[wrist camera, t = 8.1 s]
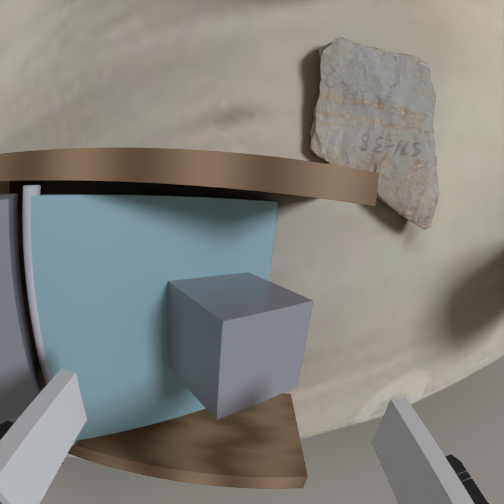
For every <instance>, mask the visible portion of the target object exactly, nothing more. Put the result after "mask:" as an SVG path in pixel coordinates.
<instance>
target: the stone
mask: <svg viewBox="0 0 504 504" xmlns="http://www.w3.org/2000/svg"><path fill="white" fill-rule="evenodd" d="M318 51H319V55H320V60H321V63H320V70H321V71H320V92H319V98H318V100H317V102H316V105H315V107H314V113H313V116H314V121H313V123H312V126H311V129H310V137H311V142H310V145H309V148H310V150H311V151H312V152H314V153H315V154H316V155H317V156H319V157H321V158H322V159H324V160H326V161H327V162H326V164H330V165H337V166H343V167H349V168H354V169H360V170H366V171H371V172H376V173H379V179H378V188H377V198H378V199H380V200H381V201H383V202H384V203H386V204H387V205H389V206H390V207H391V208H392V209H393V210H395V211H396V212H397V213H398V214H400V215H401V216H403V217H405V218H406V219H408V220H410V221H411V222H413V223H414V224H416V225H418V226H419V227H421V228H422V229H425V230H426V229H428V228H429V226H430V225H431V222H432V218H433V215H434V212H435V209H436V206H437V204H438V196H439V186H438V179H437V172H436V165H437V158H436V152H435V143H434V131H433V126H432V125H433V117H434V105H435V103H436V95H435V92H434V89H433V86H432V83H431V77H430V70H429V68H428V65H427V63H425V62H423V61H422V60H421V59H419V58H418V57H417V56H412V55H407V54H401V53H397V54H396V53H387V52H385V51H382V50H379V49H377V48H373V47H369V46H365V45H361V44H357V43H354V42H352V41H349V40H346V39H344V38H342V37H341V38H337V39H335V40H334V41H333V42H331V43H329V44H328V45H326V46H324V47H323V48H320V49H319V50H318Z"/></svg>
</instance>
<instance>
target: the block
mask: <svg viewBox="0 0 504 504" xmlns="http://www.w3.org/2000/svg"><path fill="white" fill-rule="evenodd" d="M312 304H313V300H311V299H308V298H306V297H304V296H301V295H299V294H297V293H295V292H292V291H290V290H288V289H285V288H283V287H281V286H279V285H276V284H274V283H272V282H270V281H267V280H265V279H263V278H261V277H258V276H256V275H254V274H252V273H249V272H244V273H236V274H227V275H218V276H209V277H200V278H191V279H181V280H172V281H168V366H169V367H170V368H171V369H172V371H173V372H174V373H175V374H176V375H177V377H178V378H179V379H180V380H181V381H182V382H183V383H184V385H185V386H186V387H187V388H188V389H189V390H190V391H191V393H192V394H193V395H194V396H195V397H196V398H197V399H198V400H199V401H200V403H201V404H202V405H203V406H204V407H205V408H206V409H207V410H208V411H209V412H210V413H211V414H212V415H213V416H214V417H215V419H216V420H218V419H220V418H223V417H226V416H228V415H231V414H234V413H236V412H239V411H241V410H244V409H247V408H249V407H252V406H254V405H256V404H259V403H261V402H264V401H266V400H268V399H271V398H273V397H275V396H278V395H280V394H282V393H284V392H287V391H289V390H291V389H293V388H295V387H297V383H298V379H299V374H300V369H301V364H302V359H303V354H304V349H305V343H306V338H307V333H308V327H309V322H310V316H311V310H312Z"/></svg>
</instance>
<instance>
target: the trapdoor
mask: <svg viewBox="0 0 504 504" xmlns="http://www.w3.org/2000/svg"><path fill="white" fill-rule="evenodd" d="M40 190H41V185H24V186H23V207H22V224H23V252H24V267H25V278H26V287H27V296H28V303H29V310H30V317H31V323H32V328H33V334H34V339H35V344H36V349H37V353H38V358H39V362H40V366H41V370H42V374H43V378H44V382H45V386H46V385H47V384H48V383H49V382H50V381H51V380H52V378H53V377H54V376H55V375H56V374H57V373H58V372H59V371H60V369H61V368H62V369H65V370H69V371H72V372H76V374H77V379H78V384H79V388H80V393H81V397H82V401H83V405H84V409H85V413H86V417H87V421H86V423H85V424H84V426H83V428H82V429H81V431H80V433H79V434H78V436H77V438H76V440H75V441H74V443H73V445H72V446H74V445H75V444H76V443H77V440H82V439H88V438H93V437H99V436H104V435H108V434H113V433H118V432H122V431H127V430H131V429H135V428H139V427H143V426H147V425H151V424H155V423H159V422H162V421H166V420H169V419H173V418H176V417H180V416H183V415H187V414H190V413H193V412H196V411H199V410H203V409H206V408H205V407H204V406H203V405H202V404H201V403H200V401H199V400H198V399H197V398H196V397H195V396H194V395H193V394H192V393H191V391H190V390H189V389H188V388H187V387H186V386H185V385H184V383H183V382H182V381H181V380H180V379H179V378H178V377H177V375H176V374H175V373H174V372H173V371H172V369H171V368H170V367H169V366H168V281H172V280H181V279H191V278H200V277H209V276H218V275H227V274H236V273H244V272H249V273H252V274H254V275H256V276H258V277H261V278H263V279H265V280H267V281H269V276H270V267H271V259H272V250H273V241H274V232H275V223H276V214H277V205H278V202H275V201H268V200H253V199H238V198H220V197H201V196H177V195H143V194H40ZM42 390H43V389H42V386H41V382H40V379H39V375H38V371H37V367H36V363H35V359H34V355H33V350H32V346H31V341H30V336H29V331H28V325H27V320H26V314H25V307H24V300H23V292H22V284H21V274H20V263H19V247H18V193H13V194H0V424H2V423H4V422H5V421H7V420H8V421H11V422H13V423H15V422H16V421H17V419H18V418H19V417H20V416H21V415H22V413H23V412H24V411H25V410H26V409H27V407H28V406H29V405H30V404H31V403H32V401H33V400H34V399H35V398H36V397H37V396H38V394H39V393H40V392H41V391H42ZM62 464H63V462H62Z"/></svg>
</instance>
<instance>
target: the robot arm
mask: <svg viewBox="0 0 504 504" xmlns="http://www.w3.org/2000/svg"><path fill="white" fill-rule="evenodd" d="M86 421H87V417H86V413H85V409H84V405H83V401H82V397H81V393H80V388H79V384H78V379H77V374H76V372H72V371H69V370H65V369H62V368H61V369H60V371H59V372H58V373H57V374H56V375H55V376H54V377H53V378H52V380H51V381H50V382H49V383H48V384H47V385H46V386H45V388H44V389H43V390H42V391H41V392H40V393H39V394H38V396H37V397H36V398H35V399H34V400H33V401H32V403H31V404H30V405H29V406H28V407H27V409H26V410H25V411H24V412H23V413H22V415H21V416H20V417H19V418H18V419H17V421H16V422H15V423H13V422H11V421H8V420H7V421H5V422H4V423H2V424H0V504H40V502H41V500H42V498H43V496H44V495H45V493H46V491H47V489H48V487H49V485H50V484H51V482H52V480H53V478H54V476H55V474H56V473H57V471H58V469H59V467H60V466H61V464H62V462H63V460H64V459H65V457H66V455H67V453H68V452H69V450H70V448H71V446H72V445H73V443H74V441H75V440H76V438H77V436H78V434H79V433H80V431H81V429H82V428H83V426H84V424H85V423H86ZM372 445H373V447H374V449H375V451H376V454H377V456H378V458H379V460H380V463H381V465H382V467H383V470H384V472H385V474H386V476H387V479H388V481H389V483H390V485H391V488H392V490H393V492H394V495H395V497H396V499H397V502H398V504H489V503H488V502H487V501H486V499H485V498H484V496H483V495H482V493H481V492H480V490H479V488H478V487H477V485H476V484H475V482H474V481H473V479H471V476H470V475H469V473H468V472H466V469H465V467H464V466H463V464H462V463H461V462H460V461H459V460H458V459H457V458H455V457H454V456H453V455H449V456H444V454H443V453H442V452H441V450H440V448H439V447H438V445H437V444H436V442H435V441H434V439H433V438H432V436H431V435H430V433H429V432H428V430H427V429H426V427H425V426H424V424H423V423H422V421H421V420H420V418H419V417H418V415H417V414H416V412H415V411H414V409H413V408H412V406H411V405H410V403H409V402H408V401H407V399H406V398H395V399H390V402H389V404H388V407H387V409H386V412H385V414H384V416H383V419H382V421H381V423H380V426H379V428H378V430H377V432H376V435H375V437H374V439H373V441H372Z"/></svg>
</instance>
